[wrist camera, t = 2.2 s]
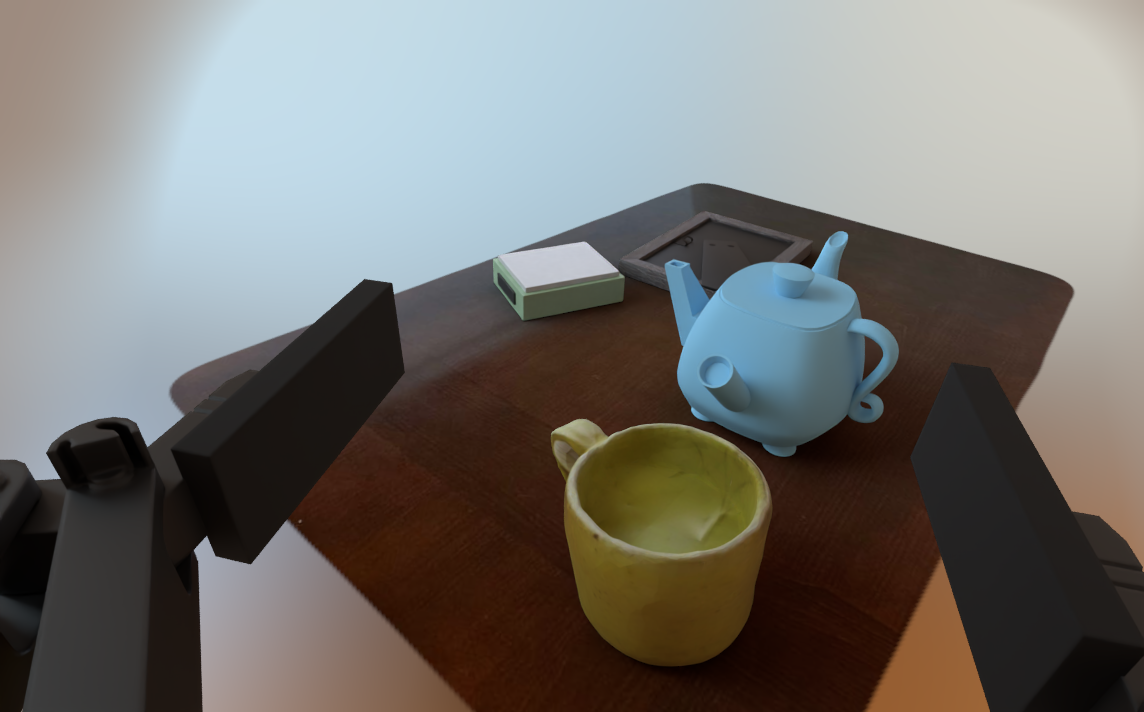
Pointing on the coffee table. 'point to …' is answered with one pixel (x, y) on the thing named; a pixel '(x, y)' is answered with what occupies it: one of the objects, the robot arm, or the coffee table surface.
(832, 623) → the coffee table surface
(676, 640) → the mug
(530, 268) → the scale
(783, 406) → the teapot
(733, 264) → the picture frame
